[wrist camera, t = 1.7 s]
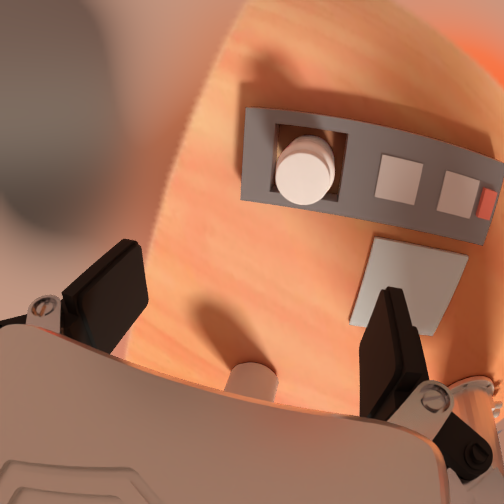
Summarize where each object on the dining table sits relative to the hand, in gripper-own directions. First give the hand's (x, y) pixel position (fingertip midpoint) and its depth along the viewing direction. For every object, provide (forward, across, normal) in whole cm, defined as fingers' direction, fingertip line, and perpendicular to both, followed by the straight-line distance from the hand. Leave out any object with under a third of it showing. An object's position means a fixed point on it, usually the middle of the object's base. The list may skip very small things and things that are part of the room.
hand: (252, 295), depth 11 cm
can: (+21, +2, +32) cm, 38 cm away
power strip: (+21, -8, -1) cm, 22 cm away
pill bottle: (+21, -1, -1) cm, 21 cm away
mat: (+21, -15, +12) cm, 28 cm away
